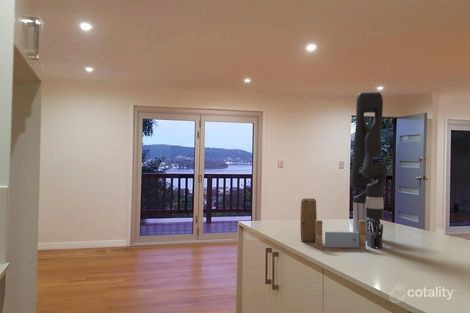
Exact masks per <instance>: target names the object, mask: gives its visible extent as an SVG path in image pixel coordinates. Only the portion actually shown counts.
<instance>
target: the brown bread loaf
mask: <svg viewBox="0 0 470 313" xmlns="http://www.w3.org/2000/svg"><path fill="white" fill-rule="evenodd" d="M317 215H318V214H317V200H316V198H302V199H301V203H300V218H299V219H300V228H299V229H300V240H301V241H302V242H306V243H314V242H316V220H318V219H317V217H318V216H317Z"/></svg>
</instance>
